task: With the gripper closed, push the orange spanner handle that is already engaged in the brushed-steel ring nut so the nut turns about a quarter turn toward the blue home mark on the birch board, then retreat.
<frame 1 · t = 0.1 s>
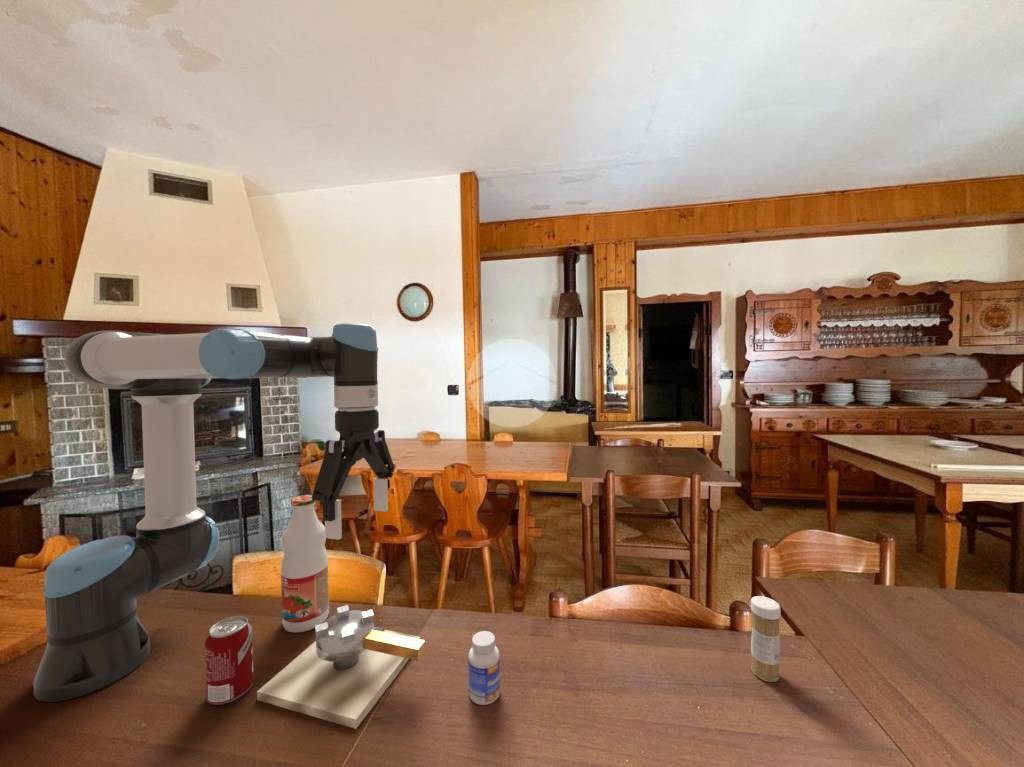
hand: (359, 523, 73), 28 cm above the table, fingers open, 13 cm apart
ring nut: (370, 636, 72), point 7 cm above the table, hinge at 0.0°
pill bottle: (484, 694, 68), on the table
fruit juice: (306, 621, 89), on the table
sprinkles bottle: (764, 675, 72), on the table
board: (346, 669, 74), on the table
soda can: (230, 693, 69), on the table
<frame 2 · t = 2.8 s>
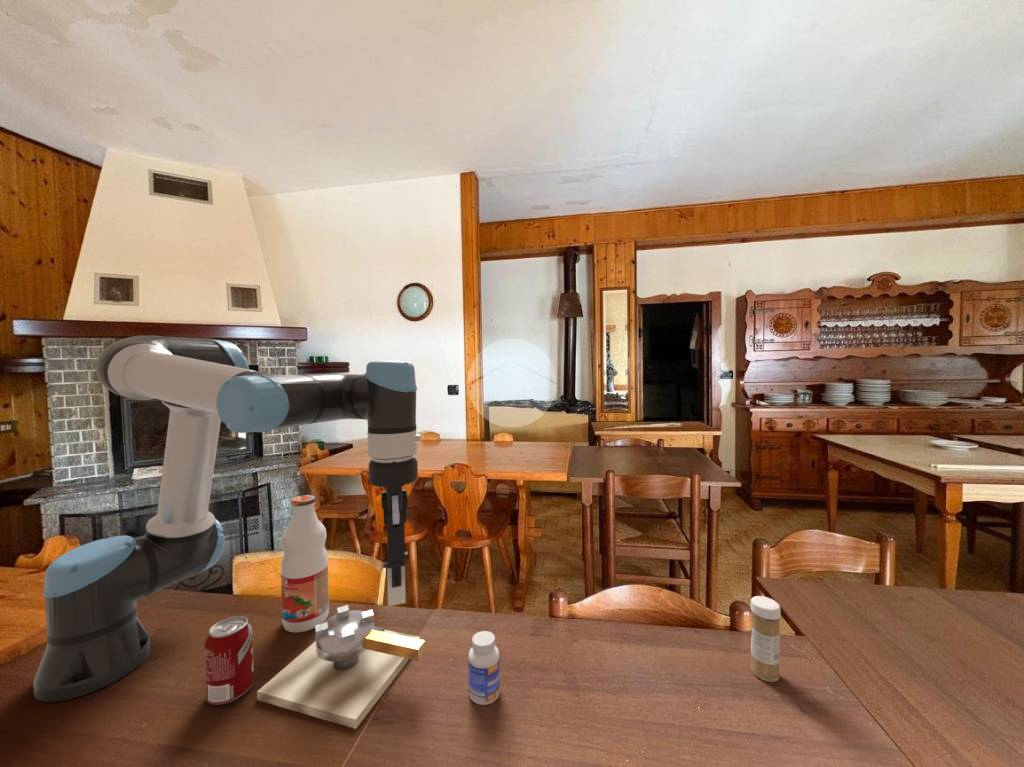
hand: (396, 601, 64), 19 cm above the table, fingers closed
nothing on the table moved.
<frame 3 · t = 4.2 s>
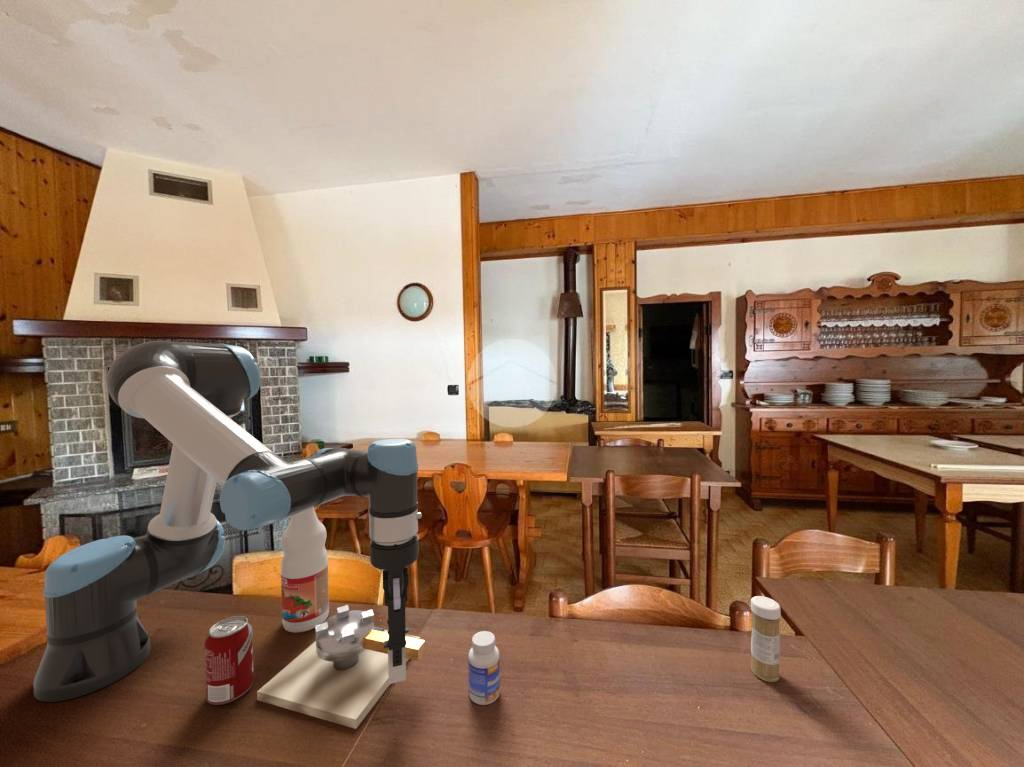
hand: (397, 678, 64), 6 cm above the table, fingers closed
nothing on the table moved.
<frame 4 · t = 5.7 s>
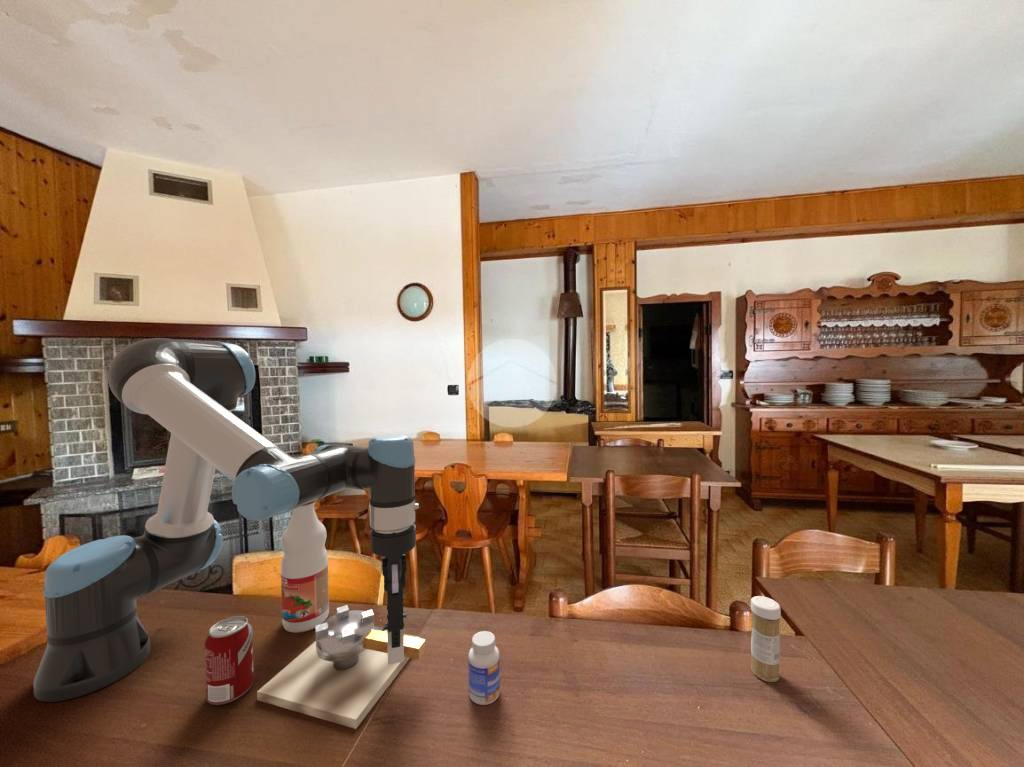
hand: (396, 660, 68), 6 cm above the table, fingers closed
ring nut: (370, 636, 72), point 7 cm above the table, hinge at 0.9°, touching gripper
everything else where it was.
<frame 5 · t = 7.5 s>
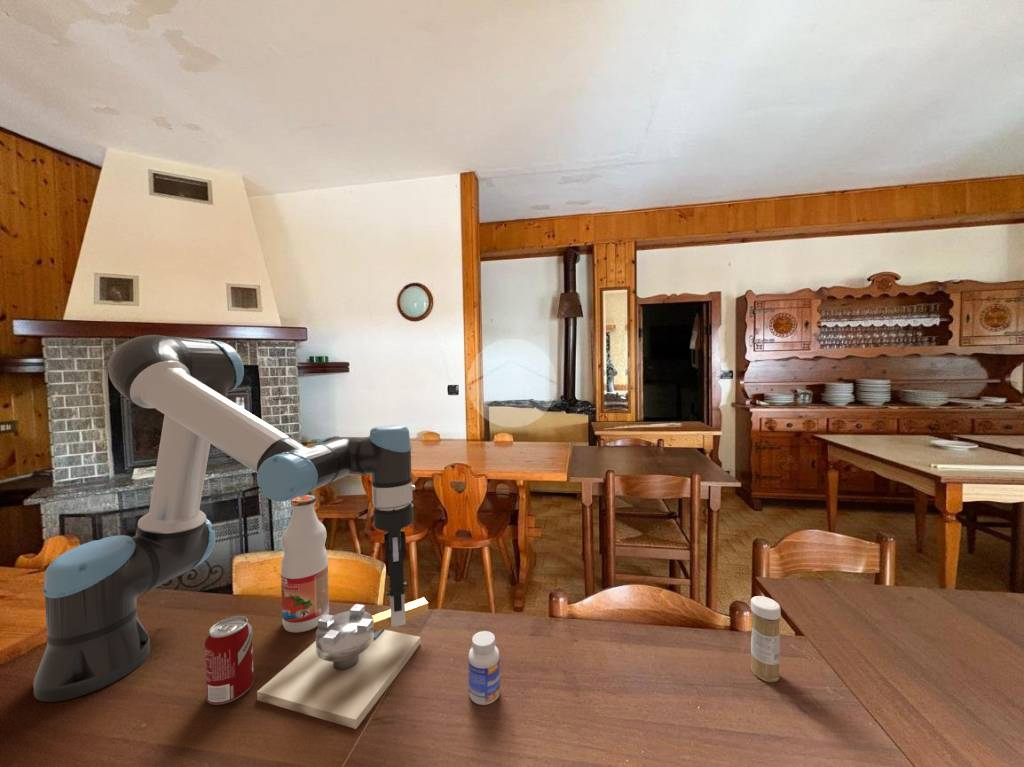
hand: (398, 623, 77), 6 cm above the table, fingers closed
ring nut: (375, 620, 77), point 7 cm above the table, hinge at 51.4°, touching gripper
everything else where it was.
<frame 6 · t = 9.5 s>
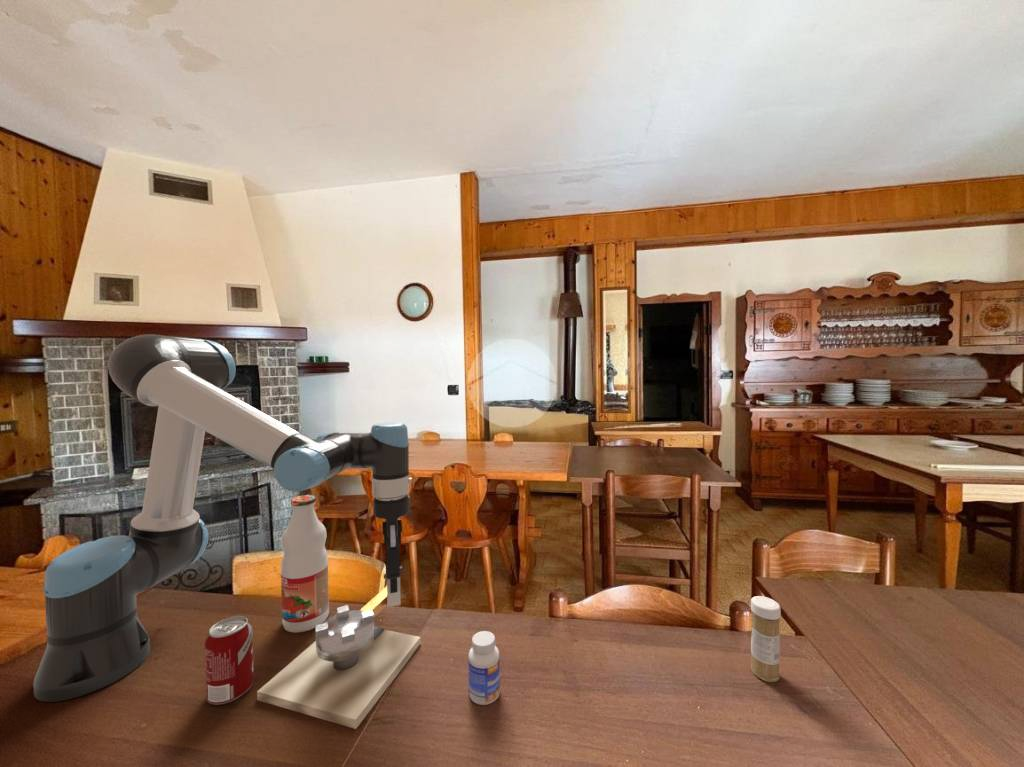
hand: (394, 604, 85), 6 cm above the table, fingers closed
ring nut: (364, 613, 79), point 7 cm above the table, hinge at 90.4°, touching gripper
everything else where it was.
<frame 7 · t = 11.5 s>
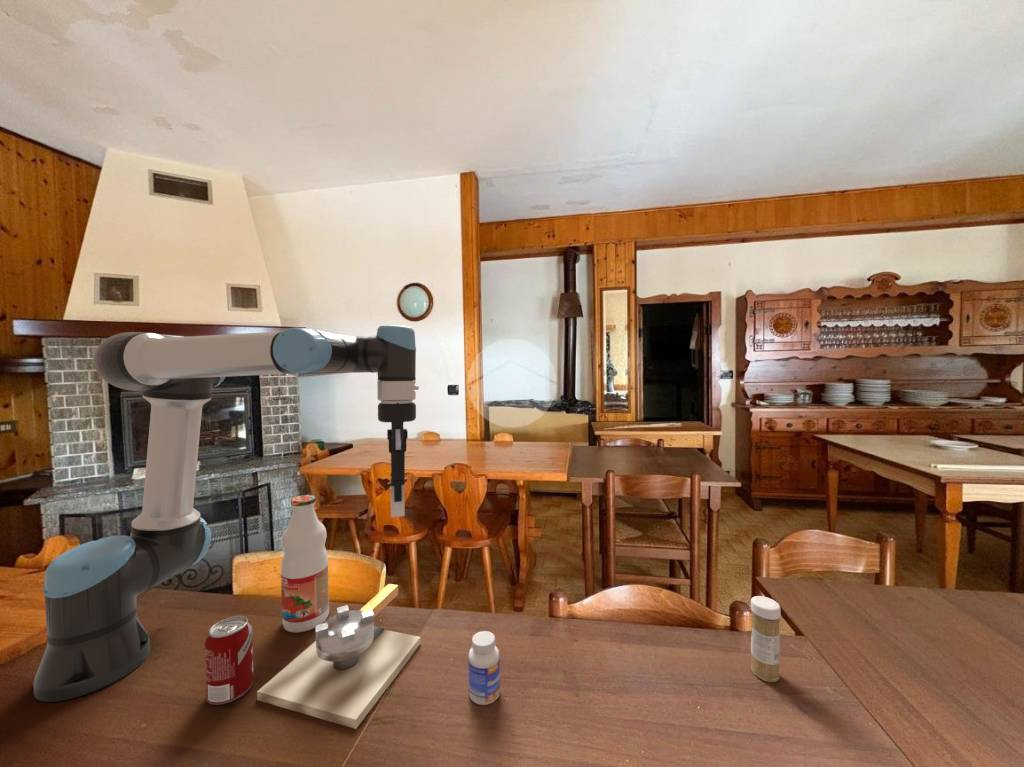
hand: (397, 515, 81), 26 cm above the table, fingers closed
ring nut: (364, 613, 79), point 7 cm above the table, hinge at 90.6°
everything else where it was.
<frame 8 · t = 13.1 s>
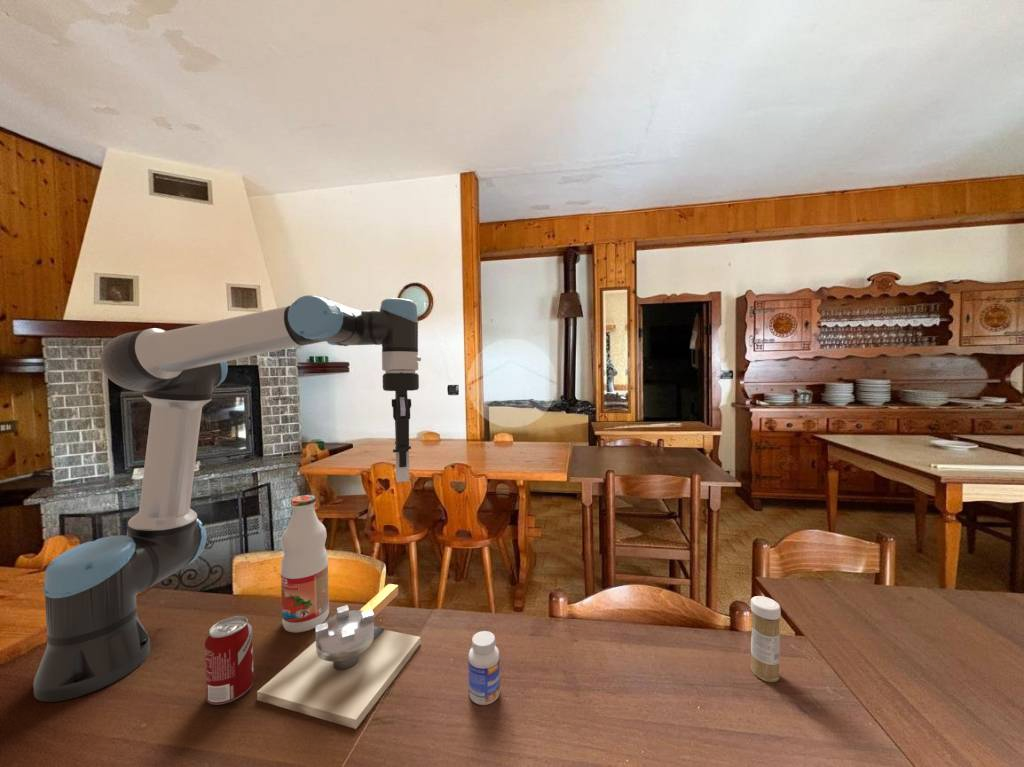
hand: (402, 480, 85), 32 cm above the table, fingers closed
nothing on the table moved.
at the end: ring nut at +91° (first picture: +0°) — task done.
